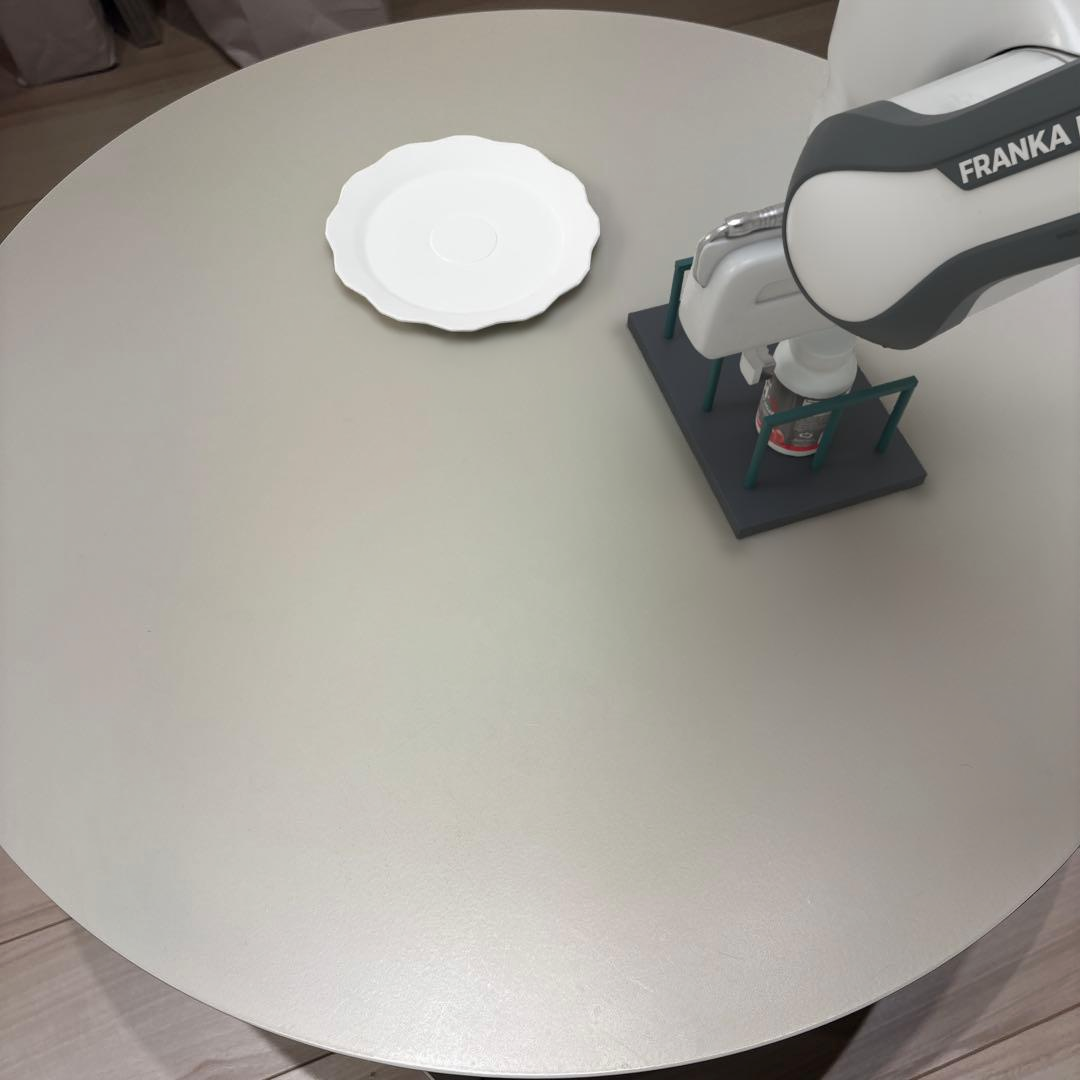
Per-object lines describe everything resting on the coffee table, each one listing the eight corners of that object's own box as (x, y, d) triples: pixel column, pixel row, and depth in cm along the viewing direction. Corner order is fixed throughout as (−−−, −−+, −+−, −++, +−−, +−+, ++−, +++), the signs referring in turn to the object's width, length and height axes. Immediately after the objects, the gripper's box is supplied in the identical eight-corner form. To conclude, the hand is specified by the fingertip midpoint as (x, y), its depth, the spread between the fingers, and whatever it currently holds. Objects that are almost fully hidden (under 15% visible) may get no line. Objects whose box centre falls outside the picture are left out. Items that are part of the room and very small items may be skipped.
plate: (651, 240, 90) (653, 224, 89) (462, 388, 82) (461, 373, 81) (465, 118, 97) (464, 101, 96) (275, 242, 89) (271, 226, 88)
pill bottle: (742, 406, 80) (768, 309, 72) (812, 390, 81) (846, 292, 73) (772, 466, 77) (803, 373, 69) (844, 449, 78) (883, 354, 70)
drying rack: (923, 484, 78) (964, 406, 71) (737, 539, 76) (760, 465, 68) (795, 281, 88) (820, 195, 81) (626, 324, 85) (636, 239, 78)
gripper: (725, 267, 57) (691, 435, 69) (1075, 180, 61) (986, 353, 73) (676, 186, 60) (652, 360, 72) (1011, 108, 64) (936, 285, 76)
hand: (822, 356), depth 72 cm, fingers open, 8 cm apart
